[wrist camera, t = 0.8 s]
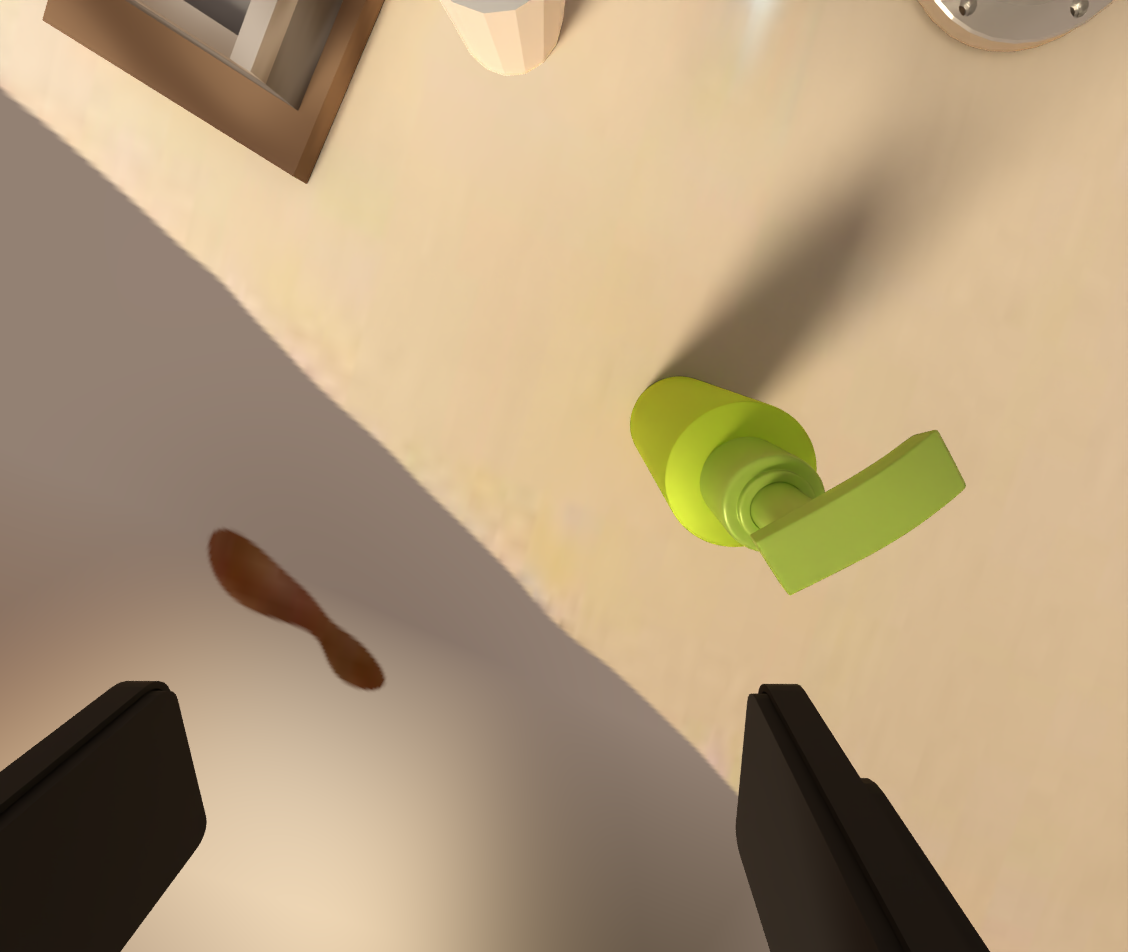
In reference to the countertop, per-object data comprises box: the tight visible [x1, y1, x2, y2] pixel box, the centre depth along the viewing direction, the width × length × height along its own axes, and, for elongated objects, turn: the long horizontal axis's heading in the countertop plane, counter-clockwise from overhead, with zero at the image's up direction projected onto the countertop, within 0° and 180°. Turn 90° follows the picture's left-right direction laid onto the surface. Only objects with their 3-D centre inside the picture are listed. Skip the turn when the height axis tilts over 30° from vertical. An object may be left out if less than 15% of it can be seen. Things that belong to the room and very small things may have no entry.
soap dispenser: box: [630, 376, 966, 595], centre depth 23 cm, size 6×7×20 cm
